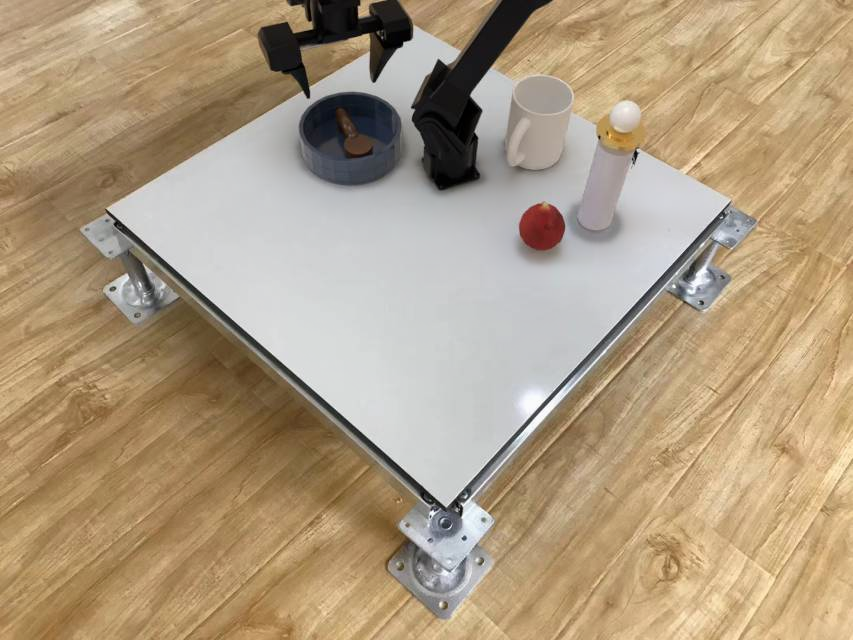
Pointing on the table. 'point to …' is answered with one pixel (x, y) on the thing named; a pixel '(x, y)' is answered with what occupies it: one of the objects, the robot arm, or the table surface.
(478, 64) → the robot arm
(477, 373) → the table surface
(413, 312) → the table surface
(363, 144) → the ladle
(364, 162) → the bowl
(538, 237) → the onion
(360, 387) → the table surface
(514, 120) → the mug
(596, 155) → the perfume bottle
